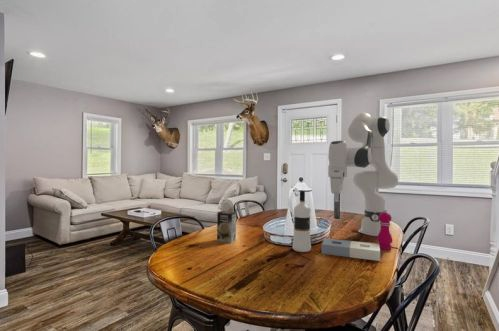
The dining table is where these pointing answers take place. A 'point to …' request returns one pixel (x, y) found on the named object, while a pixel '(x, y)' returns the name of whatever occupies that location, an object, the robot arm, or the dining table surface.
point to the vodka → (302, 226)
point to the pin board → (351, 249)
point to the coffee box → (226, 226)
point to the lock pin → (337, 208)
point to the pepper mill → (384, 231)
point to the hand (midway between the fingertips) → (337, 201)
